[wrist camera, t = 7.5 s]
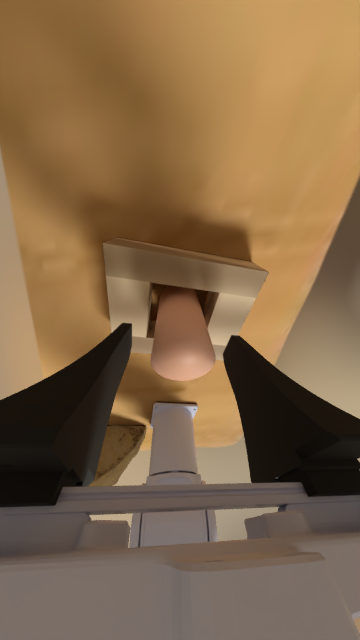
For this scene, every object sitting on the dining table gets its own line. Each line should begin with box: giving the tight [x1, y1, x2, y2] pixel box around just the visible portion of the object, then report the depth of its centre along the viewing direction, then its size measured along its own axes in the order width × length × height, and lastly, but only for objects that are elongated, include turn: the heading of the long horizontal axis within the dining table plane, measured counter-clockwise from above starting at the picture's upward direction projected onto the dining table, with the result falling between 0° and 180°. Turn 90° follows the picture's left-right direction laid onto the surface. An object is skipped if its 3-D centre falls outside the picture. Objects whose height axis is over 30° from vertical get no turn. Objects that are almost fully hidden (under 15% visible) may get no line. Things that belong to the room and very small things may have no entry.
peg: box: [151, 285, 216, 381], centre depth 13 cm, size 4×4×8 cm
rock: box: [88, 425, 146, 487], centre depth 31 cm, size 11×9×10 cm
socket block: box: [103, 237, 269, 361], centre depth 15 cm, size 10×12×3 cm
